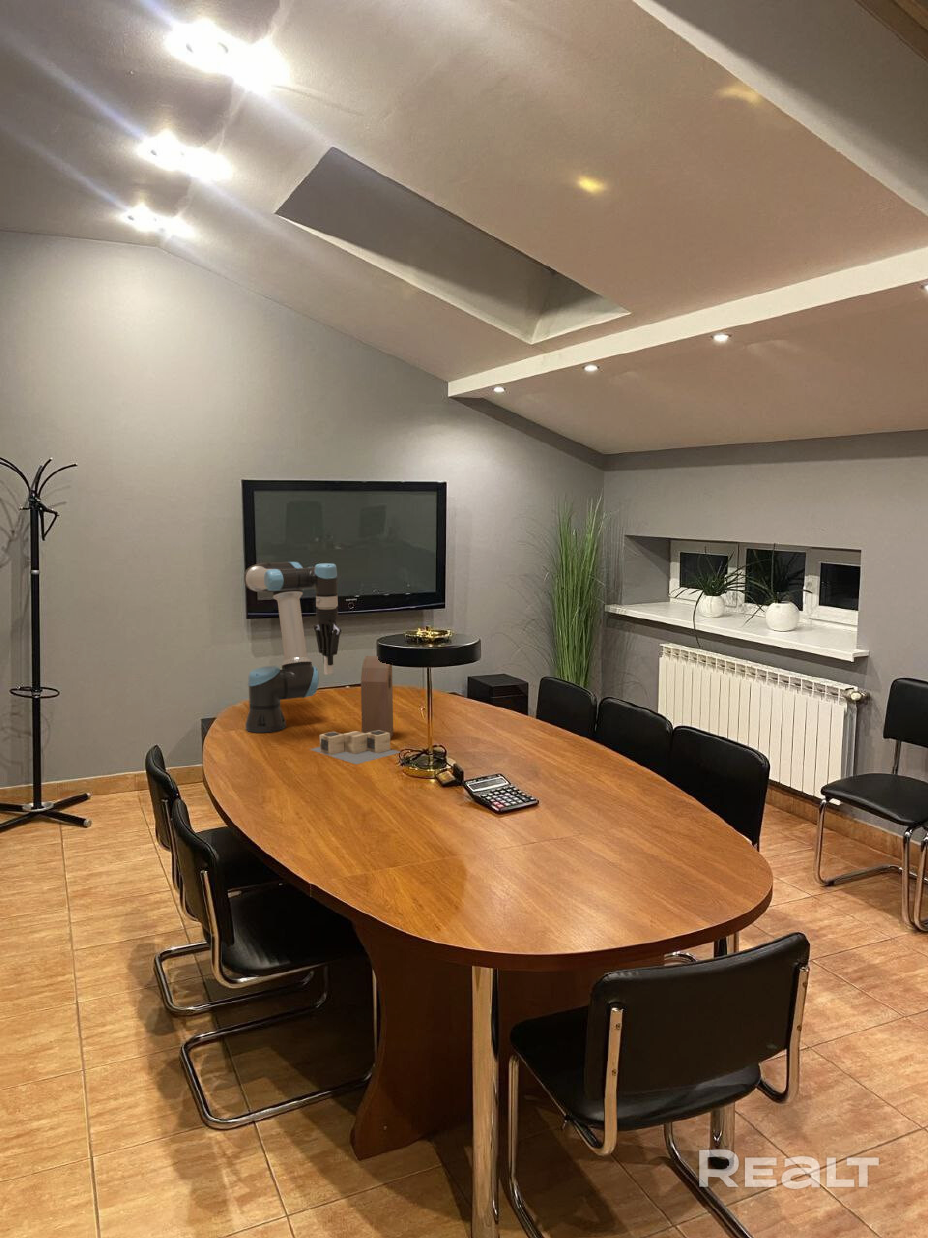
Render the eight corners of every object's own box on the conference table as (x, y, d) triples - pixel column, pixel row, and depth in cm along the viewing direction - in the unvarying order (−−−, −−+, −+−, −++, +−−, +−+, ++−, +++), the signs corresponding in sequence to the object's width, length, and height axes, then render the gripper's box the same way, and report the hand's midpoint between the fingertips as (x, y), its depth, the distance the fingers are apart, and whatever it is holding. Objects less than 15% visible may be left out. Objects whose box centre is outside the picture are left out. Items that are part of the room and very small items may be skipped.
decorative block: (393, 735, 346) (392, 656, 342) (388, 742, 336) (387, 661, 332) (367, 735, 347) (365, 655, 343) (362, 742, 337) (360, 660, 333)
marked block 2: (365, 750, 324) (364, 732, 324) (379, 746, 329) (378, 729, 328) (376, 753, 320) (376, 735, 319) (390, 749, 325) (389, 732, 324)
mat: (309, 751, 326) (309, 749, 326) (354, 739, 340) (354, 738, 340) (356, 766, 308) (356, 764, 308) (401, 753, 322) (401, 752, 322)
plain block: (343, 750, 324) (342, 734, 323) (356, 747, 328) (356, 730, 327) (353, 754, 320) (353, 737, 319) (367, 750, 324) (367, 733, 323)
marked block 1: (319, 751, 323) (318, 734, 322) (333, 748, 327) (333, 730, 326) (329, 755, 319) (329, 737, 318) (344, 751, 323) (343, 733, 322)
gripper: (307, 607, 327) (308, 672, 331) (329, 610, 318) (331, 678, 321) (324, 605, 332) (325, 669, 336) (346, 608, 323) (348, 674, 327)
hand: (328, 673), depth 329 cm, fingers closed
